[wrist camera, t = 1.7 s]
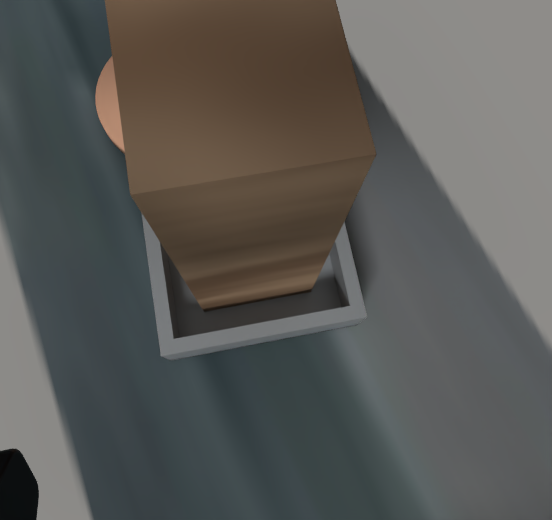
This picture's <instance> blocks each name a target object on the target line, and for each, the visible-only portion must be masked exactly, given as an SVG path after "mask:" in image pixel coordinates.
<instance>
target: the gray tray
mask: <svg viewBox="0 0 552 520" xmlns="http://www.w3.org/2000/svg"><path fill="white" fill-rule="evenodd" d="M142 219H143V227H144V234H145V242H146V249H147V256H148V264H149V271H150V279H151V286H152V294H153V301H154V308H155V316H156V323H157V331H158V338H159V345H160V353H161V357H164V358H166V359H168V360H170V361H171V360H176V359H182V358H187V357H192V356H197V355H203V354H208V353H213V352H218V351H223V350H229V349H234V348H239V347H244V346H250V345H255V344H260V343H265V342H270V341H276V340H281V339H286V338H291V337H297V336H302V335H307V334H312V333H317V332H323V331H328V330H333V329H338V328H344V327H349V326H354V325H358V324H359V323H360V322H361V321H363V320H364V319H365V318H367V314H366V310H365V305H364V301H363V297H362V293H361V289H360V285H359V280H358V276H357V272H356V268H355V264H354V259H353V255H352V251H351V247H350V243H349V239H348V234H347V230H346V226H345V222H344V223H343V225H342V227H341V230H340V232H339V234H338V236H337V238H336V240H335V242H334V244H333V246H332V249H331V251H330V253H329V255H328V257H327V259H326V261H325V263H324V265H323V267H322V270H321V272H320V274H319V276H318V278H317V280H316V282H315V284H314V286H313V288H312V291H311V292H308V293H303V294H298V295H292V296H287V297H281V298H276V299H271V300H265V301H260V302H254V303H249V304H244V305H238V306H233V307H227V308H222V309H217V310H211V311H206V312H204V311H203V309H202V308H201V306H200V305H199V303H198V301H197V300H196V298H195V297H194V295H193V294H192V292H191V290H190V289H189V287H188V286H187V284H186V282H185V281H184V279H183V278H182V276H181V274H180V273H179V271H178V270H177V268H176V266H175V265H174V263H173V262H172V260H171V259H170V257H169V255H168V254H167V252H166V251H165V249H164V247H163V246H162V244H161V243H160V241H159V239H158V238H157V236H156V235H155V233H154V231H153V230H152V228H151V227H150V225H149V224H148V222H147V220H146V219H145V217H144V216H143V214H142Z"/></svg>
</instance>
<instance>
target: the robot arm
mask: <svg viewBox="0 0 552 520" xmlns="http://www.w3.org/2000/svg"><path fill="white" fill-rule="evenodd" d="M38 498H39V490H38V484H37V481H36V479H35V477H34V475H33V473H32V471H31V470H30V468H29V466H28V464H27V462H26V460H25V459H24V457H23V455H22V454H21V452H20V451H19V450H17V449H8V450H3V451H0V520H36V517H37V507H38Z"/></svg>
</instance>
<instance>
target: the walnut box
mask: <svg viewBox="0 0 552 520" xmlns="http://www.w3.org/2000/svg"><path fill="white" fill-rule="evenodd" d="M105 4H106V11H107V19H108V27H109V34H110V42H111V50H112V57H113V65H114V73H115V80H116V88H117V96H118V103H119V111H120V119H121V126H122V134H123V142H124V149H125V157H126V165H127V172H128V180H129V188H130V195H131V196H132V198H133V200H134V201H135V203H136V204H137V206H138V208H139V209H140V211H141V212H142V214H143V216H144V217H145V219H146V220H147V222H148V224H149V225H150V227H151V228H152V230H153V231H154V233H155V235H156V236H157V238H158V239H159V241H160V243H161V244H162V246H163V247H164V249H165V251H166V252H167V254H168V255H169V257H170V259H171V260H172V262H173V263H174V265H175V266H176V268H177V270H178V271H179V273H180V274H181V276H182V278H183V279H184V281H185V282H186V284H187V286H188V287H189V289H190V290H191V292H192V294H193V295H194V297H195V298H196V300H197V301H198V303H199V305H200V306H201V308H202V309H203V311H204V312H206V311H211V310H217V309H222V308H227V307H233V306H238V305H244V304H249V303H254V302H260V301H265V300H271V299H276V298H281V297H287V296H292V295H298V294H303V293H308V292H311V291H312V288H313V286H314V284H315V282H316V280H317V278H318V276H319V274H320V272H321V270H322V267H323V265H324V263H325V261H326V259H327V257H328V255H329V253H330V251H331V249H332V246H333V244H334V242H335V240H336V238H337V236H338V234H339V232H340V230H341V227H342V225H343V223H344V221H345V219H346V217H347V215H348V213H349V211H350V209H351V206H352V204H353V202H354V200H355V198H356V196H357V194H358V192H359V190H360V188H361V185H362V183H363V181H364V179H365V177H366V175H367V173H368V171H369V169H370V167H371V164H372V162H373V160H374V158H375V156H376V151H375V147H374V143H373V140H372V136H371V132H370V128H369V124H368V121H367V117H366V113H365V109H364V106H363V102H362V98H361V94H360V91H359V87H358V83H357V79H356V75H355V72H354V68H353V64H352V60H351V57H350V53H349V49H348V45H347V42H346V38H345V34H344V30H343V27H342V23H341V19H340V15H339V11H338V8H337V4H336V0H105Z"/></svg>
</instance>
